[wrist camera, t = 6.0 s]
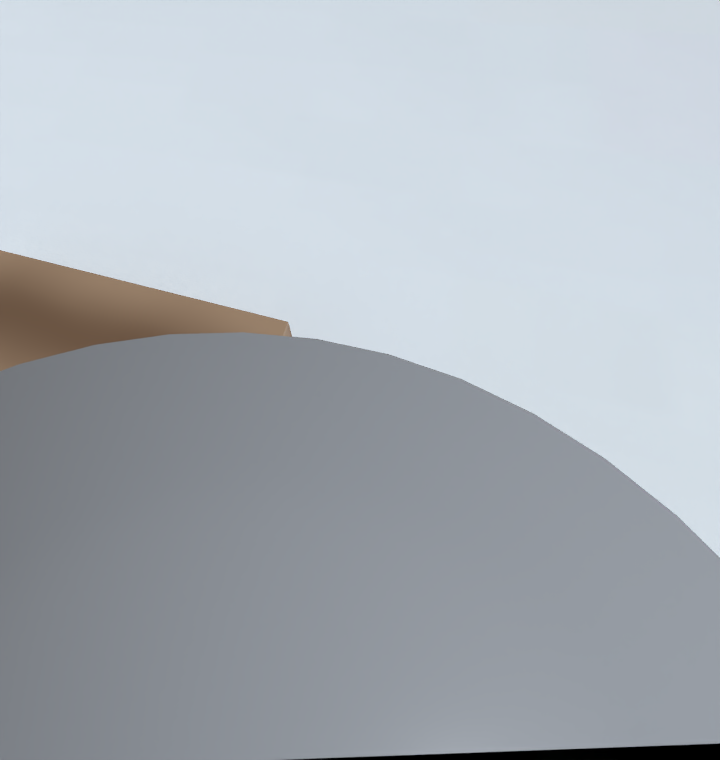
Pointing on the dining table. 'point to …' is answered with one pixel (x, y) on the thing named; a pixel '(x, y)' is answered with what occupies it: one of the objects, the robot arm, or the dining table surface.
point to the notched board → (99, 311)
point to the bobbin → (331, 568)
